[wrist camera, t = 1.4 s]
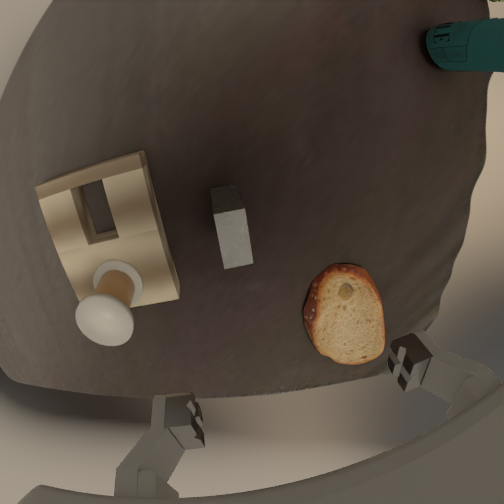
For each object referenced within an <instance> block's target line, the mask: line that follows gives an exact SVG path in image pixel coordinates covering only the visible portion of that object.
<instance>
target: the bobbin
mask: <svg viewBox="0 0 504 504" xmlns="http://www.w3.org/2000/svg"><path fill="white" fill-rule="evenodd" d="M93 285H94V289H95V291H94V293H93V294H89V295H87V296H85V297H84V298H83V299H82V300H81V301H80V303H79V305H78V307H77V310H76V314H75V317H76V322H77V325H78V327H79V328H80V330H81V331H82V332H83V334H84V335H85V336H87V337H88V338H89V339H91V340H92V341H94V342H96V343H98V344H101V345H106V346H117V345H121V344H123V343H125V342H127V341H128V340H129V339H130V337H131V335H132V332H133V328H134V318H133V315H132V313H131V311H130V306H131V305H133V304H135V303H136V302H137V301H138V300H139V299H140V297H141V294H142V290H143V279H142V277H141V274H140V273H139V271H138V270H137V269H136V268H135V267H134V266H133V265H132V264H130V263H128V262H126V261H123V260H119V259H111V260H107V261H105V262H103V263H102V264H101V265H100V266H99V267H98V268H97V270H96V272H95V274H94V277H93Z"/></svg>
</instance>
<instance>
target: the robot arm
mask: <svg viewBox="0 0 504 504" xmlns="http://www.w3.org/2000/svg"><path fill="white" fill-rule="evenodd" d="M390 348H391V352H390V353H389V354H388V358H387V362H388V367H389V370H390V371H391V373H392V374H393V375H395V376H397V377H398V380H397V382H398V384H399V385H400V386H401V388H402V390H403V391H404V392H407V391H409V390H411V389H414V388H416V387H418V386H421V387H422V388H424V389H426V390H427V391H429V392H431V393H433V394H435V395H437V396H438V397H440V398H442V399H444V400H446V401H447V402H449V403H451V404H452V405H451V407H450V408H449V410H448V412H447V416H448V418H449V419H448V420H447V421H445V422H443V423H441V424H440V425H438V426H436V427H434V428H432V429H431V430H429V431H427V432H425V433H423V434H421V435H419V436H417V437H416V438H413V439H411V440H409V441H407V442H405V443H403V444H401V445H399V446H397V447H394V448H392V449H390V450H388V451H385V452H383V453H381V454H378V455H376V456H374V457H371V458H368V459H366V460H363V461H361V462H358V463H355V464H352V465H350V466H347V467H344V468H341V469H338V470H335V471H332V472H328V473H326V474H322V475H318V476H315V477H311V478H308V479H304V480H301V481H296V482H293V483H288V484H284V485H279V486H275V487H270V488H265V489H259V490H253V491H247V492H241V493H234V494H226V495H217V496H207V497H193V498H192V497H191V498H179V494H178V492H177V491H176V490H175V489H173V488H172V487H171V486H170V485H169V484H167V481H168V480H169V478H170V476H171V475H172V473H173V471H174V469H175V467H176V466H177V464H178V462H179V460H180V458H181V457H182V455H183V453H184V450H187V449H195V448H203V447H205V440H204V433H203V431H202V429H201V427H202V425H203V417H202V412H201V409H200V406H199V404H198V403H197V402H195V396H194V394H193V392H185V393H176V394H166V395H155V396H154V398H153V407H152V420H151V429H150V430H147V431H146V432H145V433H144V435H143V436H142V437H141V439H140V440H139V441H138V442H137V444H136V445H135V446H134V448H133V449H132V450H131V451H130V452H129V454H128V455H127V456H126V458H125V459H124V460H123V461H122V462H121V464H120V465H119V466H118V467H117V469H116V478H115V490H114V496H105V495H96V494H88V493H82V492H75V491H70V490H64V489H59V488H54V487H50V486H46V485H39V486H37V487H35V488H34V489H32V490H31V491H30V492H29V493H28V494H27V495H26V496H25V497H24V498H23V499H21V500H20V501H19V502H18V504H504V382H503V383H501V382H500V381H499V379H498V378H497V377H496V376H495V375H494V374H493V372H492V371H491V370H490V369H489V368H488V367H487V366H486V365H483V364H481V363H478V362H475V361H472V360H469V359H467V358H464V357H461V356H458V355H455V354H453V353H450V352H447V351H444V352H443V351H442V350H441V349H440V348H439V347H438V346H437V345H436V343H435V342H434V341H433V340H432V339H431V338H430V337H429V335H428V334H427V333H426V332H425V331H424V330H422V329H421V330H418V331H416V332H413V333H410V334H408V335H405V336H403V337H400V338H398V339H395V340H393V341H392V342H391V344H390Z"/></svg>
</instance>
